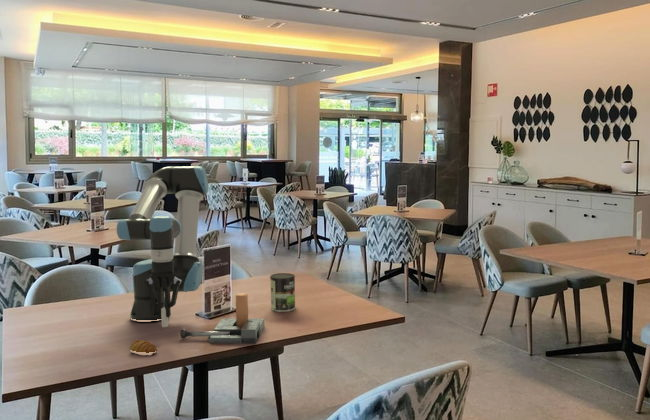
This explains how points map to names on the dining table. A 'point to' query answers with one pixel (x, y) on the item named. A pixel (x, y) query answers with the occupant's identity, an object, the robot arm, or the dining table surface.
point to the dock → (238, 331)
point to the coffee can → (282, 292)
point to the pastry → (142, 346)
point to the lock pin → (201, 333)
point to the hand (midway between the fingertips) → (165, 325)
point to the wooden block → (241, 309)
